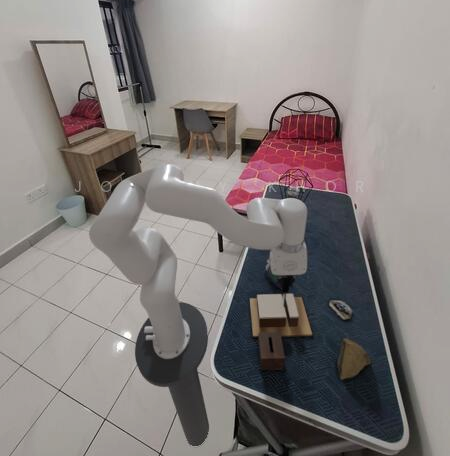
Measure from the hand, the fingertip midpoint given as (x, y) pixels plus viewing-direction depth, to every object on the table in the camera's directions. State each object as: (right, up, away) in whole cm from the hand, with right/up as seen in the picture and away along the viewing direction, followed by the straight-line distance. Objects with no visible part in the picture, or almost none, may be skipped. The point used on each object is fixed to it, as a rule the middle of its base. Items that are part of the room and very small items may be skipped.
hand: (285, 282), depth 74 cm
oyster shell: (+24, -17, +14) cm, 32 cm away
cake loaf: (-2, -18, +12) cm, 22 cm away
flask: (+2, -13, +25) cm, 28 cm away
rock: (+21, -25, -1) cm, 32 cm away
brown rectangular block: (+5, -18, +12) cm, 22 cm away
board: (+1, -19, +13) cm, 23 cm away
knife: (+1, -9, +5) cm, 10 cm away
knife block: (-4, -25, +2) cm, 25 cm away
